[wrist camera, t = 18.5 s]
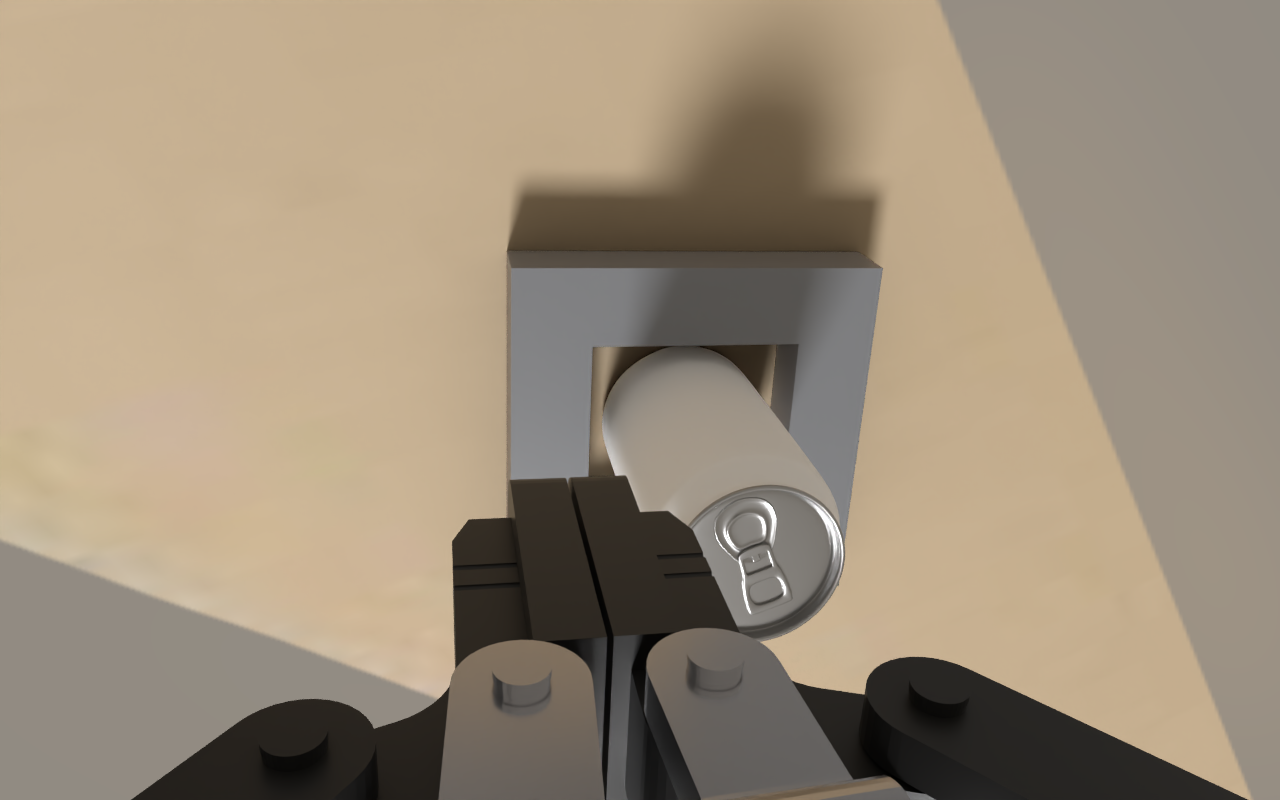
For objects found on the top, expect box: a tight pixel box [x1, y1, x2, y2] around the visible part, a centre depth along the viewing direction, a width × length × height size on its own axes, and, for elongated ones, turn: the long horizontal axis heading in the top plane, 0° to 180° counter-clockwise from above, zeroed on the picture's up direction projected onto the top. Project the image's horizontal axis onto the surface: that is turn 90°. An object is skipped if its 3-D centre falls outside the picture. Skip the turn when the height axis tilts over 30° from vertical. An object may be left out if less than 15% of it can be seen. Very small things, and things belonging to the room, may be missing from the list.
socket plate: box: [507, 251, 883, 586], centre depth 42 cm, size 14×14×2 cm
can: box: [602, 346, 845, 642], centre depth 38 cm, size 6×6×12 cm
